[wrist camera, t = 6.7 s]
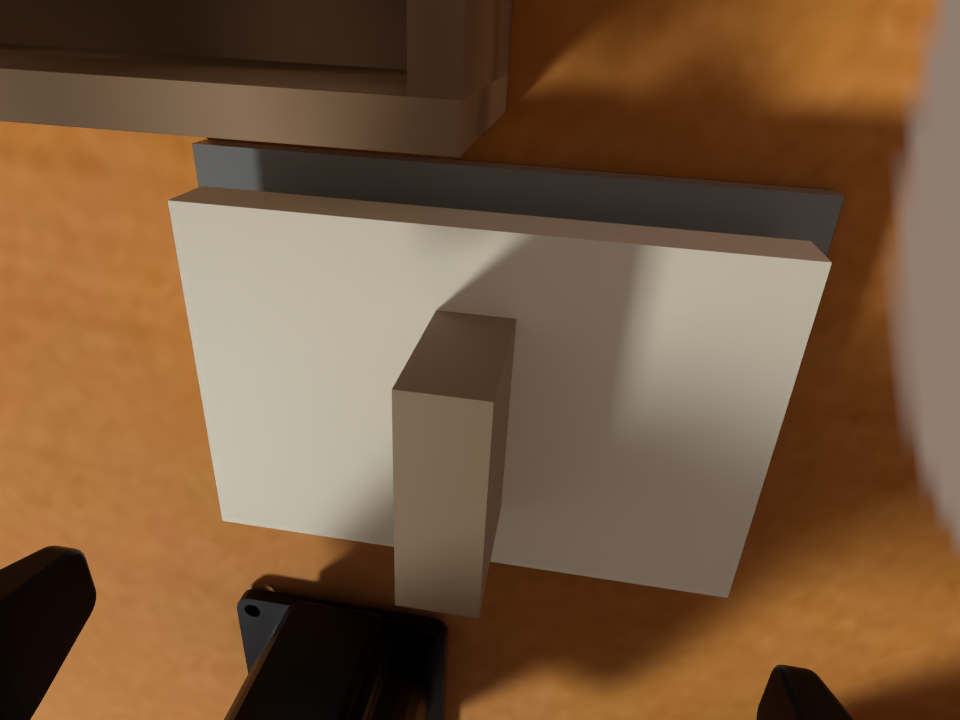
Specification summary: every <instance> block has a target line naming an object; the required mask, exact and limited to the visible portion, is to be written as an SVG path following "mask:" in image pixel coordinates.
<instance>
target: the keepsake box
mask: <svg viewBox="0 0 960 720" xmlns="http://www.w3.org/2000/svg"><path fill="white" fill-rule="evenodd" d="M512 6H513V0H0V121H7V122H19V123H32V124H44V125H57V126H69V127H82V128H95V129H107V130H120V131H132V132H145V133H157V134H170V135H183V136H195V137H208V138H220V139H233V140H245V141H258V142H271V143H283V144H296V145H308V146H321V147H334V148H346V149H359V150H371V151H384V152H396V153H409V154H422V155H434V156H447V157H460V156H461V155H462V154H463V153H464V152H465V151H466V150H467V149H469V148H470V147H471V146H472V145H473V144H474V143H475V142H476V141H477V140H478V139H479V138H480V137H481V136H482V135H483V134H484V133H485V132H486V131H487V130H488V129H489V128H490V127H491V126H492V125H493V124H494V123H495V122H496V121H497V120H498V119H499V118H500V117H501V116H502V115H503V114H504V113H505V112H506V103H507V86H508V70H509V54H510V38H511V22H512Z"/></svg>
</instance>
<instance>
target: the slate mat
mask: <svg viewBox="0 0 960 720" xmlns="http://www.w3.org/2000/svg"><path fill="white" fill-rule="evenodd" d="M192 145H193V152H194V159H195V165H196V172H197V179H198V185H199V187H201V186H207V187H218V188H230V189H241V190H252V191H263V192H274V193H285V194H296V195H307V196H318V197H329V198H340V199H351V200H362V201H373V202H384V203H396V204H407V205H418V206H429V207H440V208H451V209H462V210H473V211H484V212H495V213H506V214H517V215H528V216H539V217H550V218H562V219H573V220H584V221H595V222H606V223H617V224H628V225H639V226H650V227H661V228H672V229H683V230H694V231H705V232H716V233H728V234H739V235H750V236H761V237H772V238H783V239H794V240H805V241H811V242H812V243H813V244H814V245H815V246H816V247H817V248H818V249H819V250H820V251H821V252H822V253H823V254H824V255H825V256H826V257H827V254H828V250H829V247H830V244H831V240H832V237H833V234H834V231H835V227H836V224H837V221H838V217H839V214H840V211H841V208H842V204H843V201H844V198H845V196H844V195H842V194H841V193H839V192H838V191H837V190H826V189H814V188H801V187H789V186H776V185H764V184H751V183H739V182H726V181H714V180H701V179H689V178H676V177H664V176H651V175H639V174H626V173H614V172H601V171H589V170H576V169H564V168H551V167H539V166H526V165H514V164H501V163H489V162H476V161H464V160H452V159H439V158H427V157H414V156H402V155H389V154H377V153H364V152H352V151H339V150H327V149H314V148H302V147H289V146H277V145H264V144H252V143H239V142H227V141H214V140H202V141H199V142H196V143H192Z"/></svg>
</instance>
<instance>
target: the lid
mask: <svg viewBox="0 0 960 720" xmlns="http://www.w3.org/2000/svg"><path fill="white" fill-rule="evenodd" d="M168 205H169V210H170V216H171V222H172V228H173V234H174V240H175V246H176V251H177V257H178V263H179V269H180V275H181V281H182V286H183V292H184V298H185V304H186V310H187V316H188V322H189V327H190V333H191V339H192V345H193V351H194V357H195V363H196V368H197V374H198V380H199V386H200V392H201V398H202V403H203V409H204V415H205V421H206V427H207V433H208V439H209V444H210V450H211V456H212V462H213V468H214V474H215V480H216V485H217V491H218V497H219V503H220V509H221V515H222V521H227V522H234V523H240V524H247V525H253V526H260V527H266V528H273V529H279V530H286V531H293V532H299V533H306V534H312V535H319V536H325V537H332V538H338V539H345V540H351V541H358V542H364V543H371V544H378V545H384V546H391V547H394V573H395V605H397V606H403V607H409V608H415V609H422V610H428V611H434V612H440V613H446V614H452V615H458V616H464V617H470V618H477V619H479V616H480V611H481V606H482V601H483V596H484V591H485V586H486V580H487V575H488V570H489V565H490V562H495V563H502V564H508V565H515V566H521V567H528V568H534V569H541V570H548V571H554V572H561V573H567V574H574V575H580V576H587V577H593V578H600V579H606V580H613V581H620V582H626V583H633V584H639V585H646V586H652V587H659V588H665V589H672V590H678V591H685V592H691V593H698V594H705V595H711V596H718V597H724V598H728V596H729V593H730V589H731V586H732V583H733V580H734V576H735V573H736V570H737V567H738V564H739V560H740V557H741V554H742V551H743V548H744V544H745V541H746V538H747V535H748V531H749V528H750V525H751V522H752V519H753V515H754V512H755V509H756V506H757V503H758V499H759V496H760V493H761V490H762V486H763V483H764V480H765V477H766V474H767V470H768V467H769V464H770V461H771V457H772V454H773V451H774V448H775V445H776V441H777V438H778V435H779V432H780V429H781V425H782V422H783V419H784V416H785V412H786V409H787V406H788V403H789V400H790V396H791V393H792V390H793V387H794V383H795V380H796V377H797V374H798V371H799V367H800V364H801V361H802V358H803V355H804V351H805V348H806V345H807V342H808V338H809V335H810V332H811V329H812V326H813V322H814V319H815V316H816V313H817V309H818V306H819V303H820V300H821V297H822V293H823V290H824V287H825V284H826V281H827V277H828V274H829V271H830V268H831V264H832V262H831V261H830V260H829V259H828V258H827V257H826V256H825V255H824V254H823V253H822V252H821V251H820V250H819V249H818V248H817V247H816V246H815V245H814V244H813V243H812V242H811V241H805V240H794V239H783V238H772V237H761V236H750V235H739V234H728V233H716V232H705V231H694V230H683V229H672V228H661V227H650V226H639V225H628V224H617V223H606V222H595V221H584V220H573V219H562V218H550V217H539V216H528V215H517V214H506V213H495V212H484V211H473V210H462V209H451V208H440V207H429V206H418V205H407V204H396V203H384V202H373V201H362V200H351V199H340V198H329V197H318V196H307V195H296V194H285V193H274V192H263V191H252V190H241V189H230V188H218V187H207V186H201V187H199V188H196V189H194V190H192V191H189V192H187V193H184V194H182V195H180V196H177V197H175V198H172V199H170V200H168Z"/></svg>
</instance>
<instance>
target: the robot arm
mask: <svg viewBox="0 0 960 720" xmlns="http://www.w3.org/2000/svg"><path fill="white" fill-rule="evenodd" d="M95 601H96V589H95V586H94V583H93V580H92V577H91V573H90V570H89V567H88V564H87V561H86V558H85V555H84V554H83V553H82V552H81V551H80V550H78V549H73V548H67V547H61V546H49V547H45V548H43V549H41V550H39V551H37V552H35V553H33V554H31V555H29V556H27V557H25V558H23V559H21V560H19V561H17V562H15V563H13V564H11V565H9V566H7V567H5V568H3V569H0V720H30V719H31V717H32V716H33V714H34V712H35V711H36V709H37V708H38V706H39V704H40V703H41V701H42V699H43V697H44V696H45V694H46V692H47V690H48V688H49V687H50V685H51V683H52V681H53V680H54V678H55V676H56V674H57V673H58V671H59V669H60V667H61V666H62V664H63V662H64V660H65V658H66V657H67V655H68V653H69V651H70V650H71V648H72V646H73V644H74V643H75V641H76V639H77V637H78V635H79V634H80V632H81V630H82V628H83V627H84V625H85V623H86V621H87V620H88V618H89V616H90V614H91V612H92V610H93V608H94V605H95ZM237 611H238V617H239V623H240V628H241V634H242V640H243V646H244V651H245V657H246V663H247V669H248V676H247V678H246V680H245V681H244V683H243V685H242V687H241V689H240V691H239V693H238V695H237V696H236V698H235V700H234V702H233V704H232V706H231V708H230V710H229V711H228V713H227V715H226V717H225V719H224V720H445V701H446V673H447V645H448V630H447V627H446V626H445V624H444V623H442V622H441V621H439V620H438V619H434V618H430V617H424V616H418V615H412V614H406V613H400V612H394V611H388V610H381V609H375V608H369V607H363V606H357V605H351V604H345V603H339V602H333V601H326V600H320V599H314V598H308V597H302V596H296V595H290V594H284V593H278V592H271V591H265V590H259V589H250V590H247V591H246V592H245V593H244V594H243V596H242V597H241V599H240V601H239V602H238V604H237ZM757 720H854V719H853V718H852V717H851V716H850V714H849V713H848V712H847V711H846V709H845V708H844V707H843V706H842V704H841V703H840V702H839V701H838V700H837V698H836V697H835V696H834V695H833V693H832V692H831V691H830V690H829V688H828V687H827V686H826V685H825V684H824V682H823V681H822V680H821V679H820V677H819V676H818V675H817V674H815V673H814V672H813V671H811V670H809V669H805V668H799V667H793V666H787V665H777V666H776V667H775V668H774V669H773V671H772V672H771V675H770V678H769V680H768V683H767V685H766V688H765V691H764V693H763V696H762V698H761V701H760V704H759V707H758V711H757Z"/></svg>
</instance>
